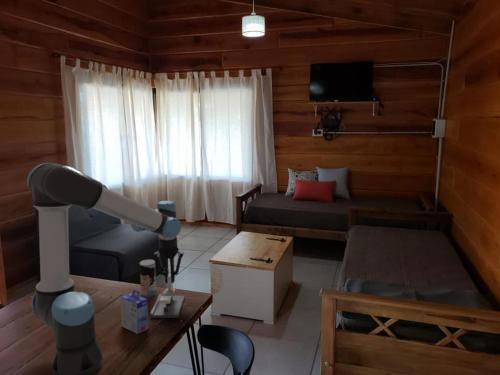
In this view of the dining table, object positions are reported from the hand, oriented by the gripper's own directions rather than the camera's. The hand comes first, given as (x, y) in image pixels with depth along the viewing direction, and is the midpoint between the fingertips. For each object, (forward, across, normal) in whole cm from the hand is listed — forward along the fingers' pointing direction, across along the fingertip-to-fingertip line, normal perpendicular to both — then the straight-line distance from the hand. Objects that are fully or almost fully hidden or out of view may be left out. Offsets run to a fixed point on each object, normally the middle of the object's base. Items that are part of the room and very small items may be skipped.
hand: (170, 289), depth 165 cm
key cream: (0, 0, +10) cm, 10 cm away
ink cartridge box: (+6, +10, +21) cm, 23 cm away
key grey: (0, 0, +5) cm, 5 cm away
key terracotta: (+2, 0, 0) cm, 2 cm away
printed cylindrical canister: (+6, +12, -8) cm, 16 cm away
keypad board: (+6, 0, +5) cm, 8 cm away
